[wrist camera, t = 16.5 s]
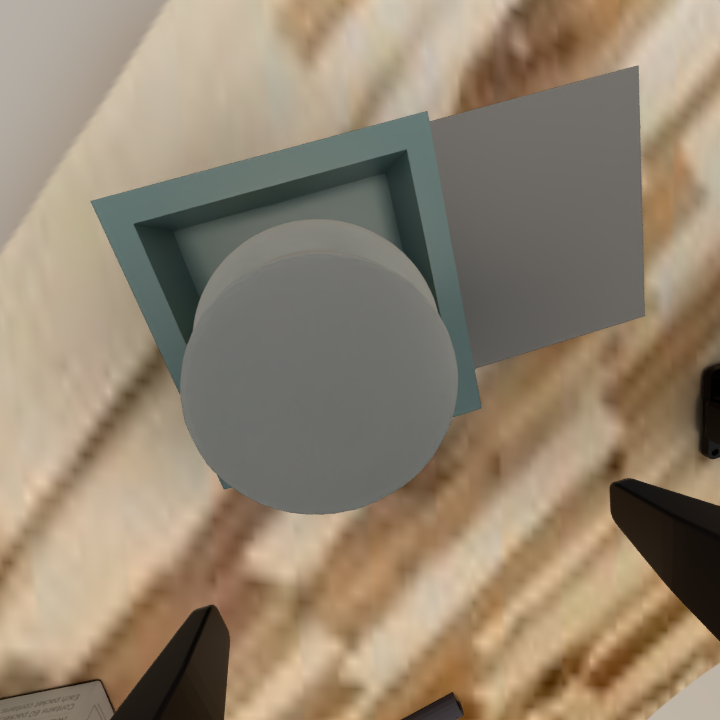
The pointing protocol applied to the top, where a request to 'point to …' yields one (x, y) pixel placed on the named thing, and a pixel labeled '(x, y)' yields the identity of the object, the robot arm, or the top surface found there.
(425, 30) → the top surface
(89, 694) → the supplement box
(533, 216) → the track
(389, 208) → the box
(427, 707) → the bracket
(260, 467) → the supplement bottle
